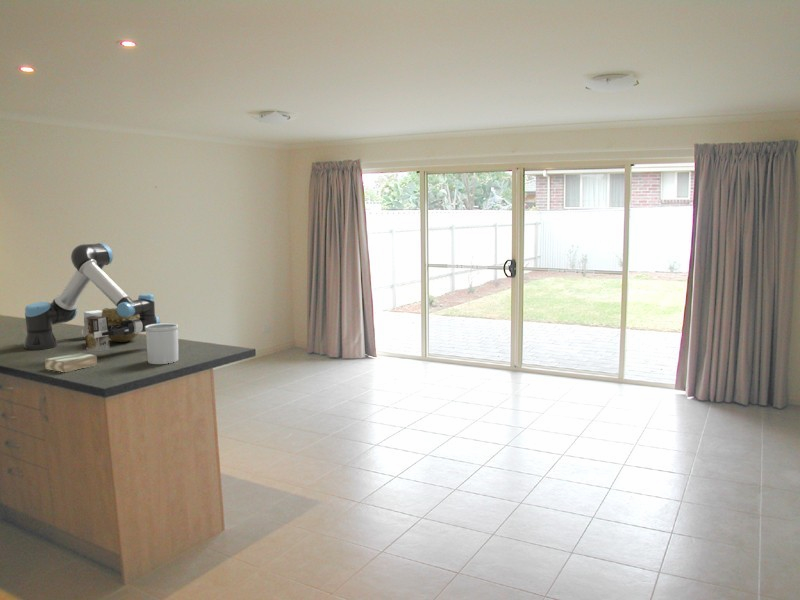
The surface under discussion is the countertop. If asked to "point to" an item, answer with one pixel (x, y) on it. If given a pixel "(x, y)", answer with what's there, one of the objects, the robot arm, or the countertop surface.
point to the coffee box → (96, 325)
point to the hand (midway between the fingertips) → (88, 333)
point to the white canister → (92, 313)
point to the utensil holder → (162, 343)
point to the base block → (71, 362)
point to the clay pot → (116, 319)
